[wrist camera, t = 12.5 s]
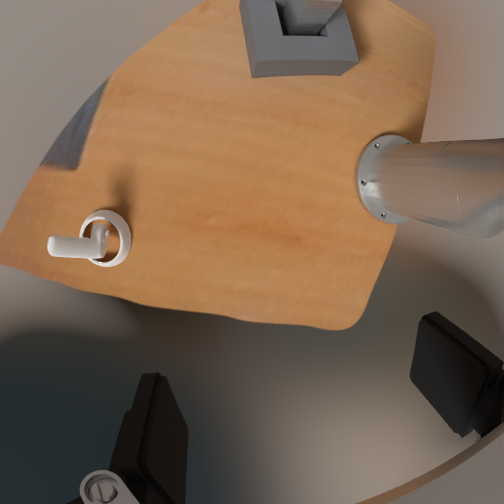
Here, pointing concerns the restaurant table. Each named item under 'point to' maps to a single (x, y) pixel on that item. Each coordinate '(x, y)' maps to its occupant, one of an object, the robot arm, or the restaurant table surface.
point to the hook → (93, 240)
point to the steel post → (306, 16)
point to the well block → (295, 43)
